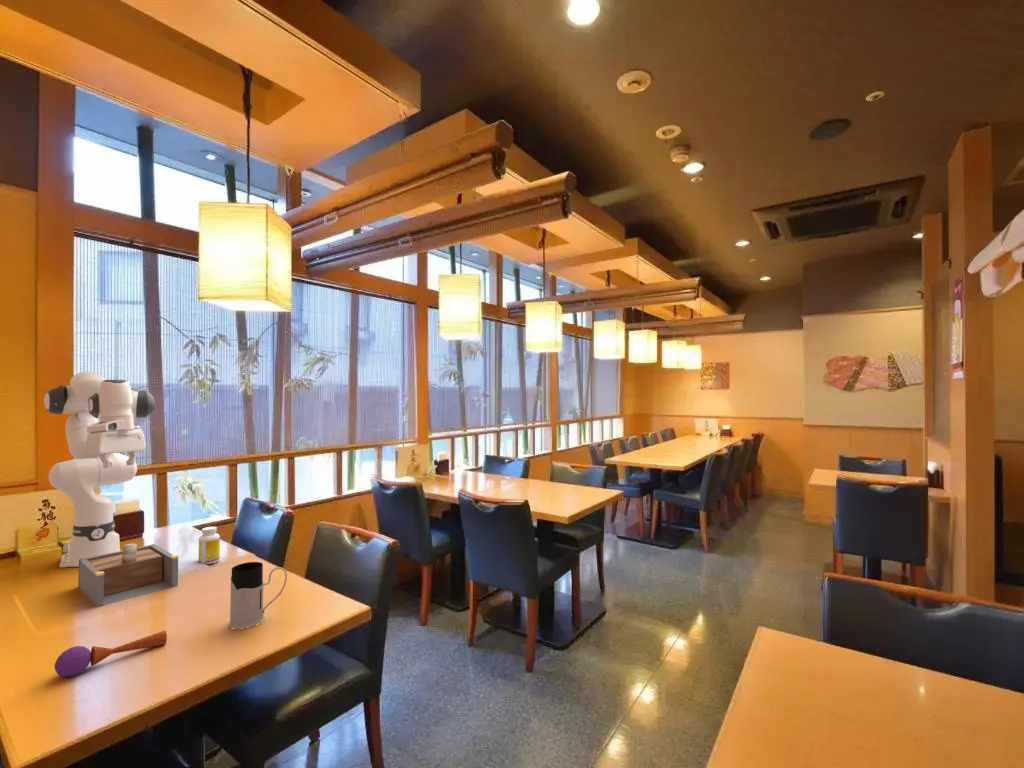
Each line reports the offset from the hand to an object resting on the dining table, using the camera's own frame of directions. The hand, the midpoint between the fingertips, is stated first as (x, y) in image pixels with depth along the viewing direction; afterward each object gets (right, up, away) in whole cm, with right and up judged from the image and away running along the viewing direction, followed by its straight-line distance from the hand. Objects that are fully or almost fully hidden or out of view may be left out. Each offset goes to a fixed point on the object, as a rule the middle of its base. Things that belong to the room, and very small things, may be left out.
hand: (119, 466), depth 162 cm
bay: (+11, -38, -9) cm, 40 cm away
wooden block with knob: (+8, -37, -7) cm, 38 cm away
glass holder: (+64, -37, -31) cm, 80 cm away
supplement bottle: (+20, -39, +16) cm, 47 cm away
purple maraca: (+40, -37, -51) cm, 75 cm away
